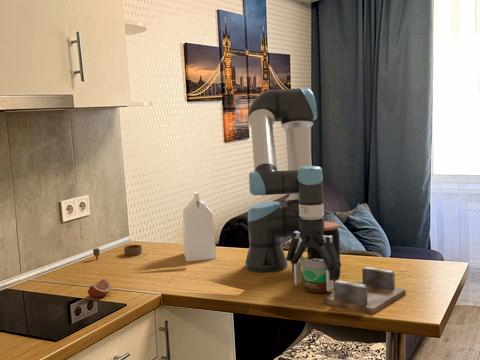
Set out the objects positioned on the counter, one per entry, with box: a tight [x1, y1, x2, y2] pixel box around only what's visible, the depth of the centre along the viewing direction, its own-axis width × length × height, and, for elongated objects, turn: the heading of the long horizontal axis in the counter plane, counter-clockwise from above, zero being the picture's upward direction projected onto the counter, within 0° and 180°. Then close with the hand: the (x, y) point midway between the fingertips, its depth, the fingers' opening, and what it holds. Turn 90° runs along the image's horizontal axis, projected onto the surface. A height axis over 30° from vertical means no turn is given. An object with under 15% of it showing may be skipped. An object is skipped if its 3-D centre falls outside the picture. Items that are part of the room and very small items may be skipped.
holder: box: [322, 266, 407, 315], centre depth 172 cm, size 16×20×7 cm
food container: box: [299, 254, 336, 294], centre depth 180 cm, size 12×6×10 cm, turn 58°
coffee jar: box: [306, 220, 341, 281], centre depth 195 cm, size 11×11×18 cm
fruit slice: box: [87, 278, 112, 298], centre depth 187 cm, size 8×7×5 cm
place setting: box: [92, 244, 149, 261], centre depth 237 cm, size 18×20×6 cm
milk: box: [182, 191, 217, 262], centre depth 228 cm, size 12×12×26 cm
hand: (313, 286), depth 181 cm, fingers closed on food container, 11 cm apart
